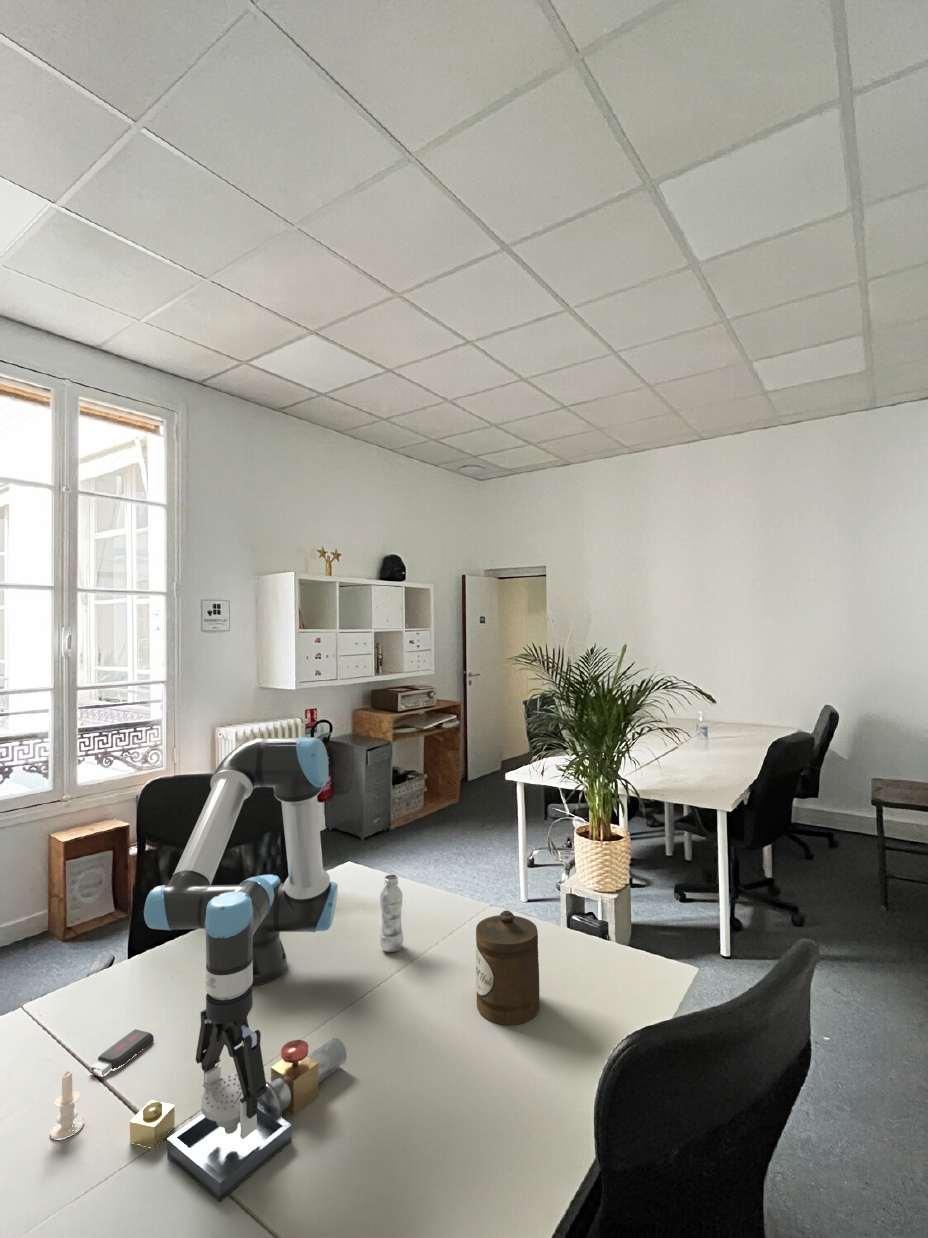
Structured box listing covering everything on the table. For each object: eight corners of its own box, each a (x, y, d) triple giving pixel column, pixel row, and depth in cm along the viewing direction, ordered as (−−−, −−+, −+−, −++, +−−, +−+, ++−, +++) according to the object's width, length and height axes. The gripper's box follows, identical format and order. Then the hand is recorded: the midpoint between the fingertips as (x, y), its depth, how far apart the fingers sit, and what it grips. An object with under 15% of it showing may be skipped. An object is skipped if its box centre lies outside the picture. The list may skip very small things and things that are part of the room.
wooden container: (476, 987, 156) (476, 898, 157) (536, 988, 156) (536, 898, 156) (476, 1025, 141) (475, 927, 142) (542, 1026, 141) (541, 927, 141)
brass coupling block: (130, 1144, 110) (129, 1116, 110) (150, 1122, 115) (150, 1096, 115) (154, 1150, 109) (154, 1122, 109) (174, 1128, 113) (174, 1101, 113)
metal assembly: (167, 1160, 107) (167, 1100, 107) (313, 1054, 133) (312, 1006, 133) (219, 1206, 98) (219, 1141, 98) (364, 1084, 124) (364, 1032, 125)
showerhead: (218, 1064, 114) (269, 1071, 112) (219, 1104, 114) (270, 1112, 112) (185, 1103, 105) (240, 1111, 103) (186, 1147, 105) (241, 1156, 103)
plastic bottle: (407, 945, 177) (406, 874, 177) (397, 957, 171) (396, 883, 171) (386, 942, 179) (386, 871, 179) (375, 953, 173) (375, 880, 173)
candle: (47, 1145, 110) (47, 1084, 110) (53, 1123, 114) (53, 1065, 115) (81, 1135, 112) (81, 1076, 112) (86, 1114, 117) (86, 1057, 117)
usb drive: (153, 1043, 137) (153, 1030, 137) (106, 1081, 125) (106, 1067, 126) (135, 1038, 139) (135, 1026, 139) (86, 1075, 127) (86, 1062, 127)
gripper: (173, 978, 112) (173, 1105, 112) (250, 1023, 99) (251, 1166, 99) (211, 959, 118) (212, 1080, 118) (289, 999, 105) (290, 1134, 105)
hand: (230, 1119), depth 109 cm, fingers closed on showerhead, 9 cm apart
